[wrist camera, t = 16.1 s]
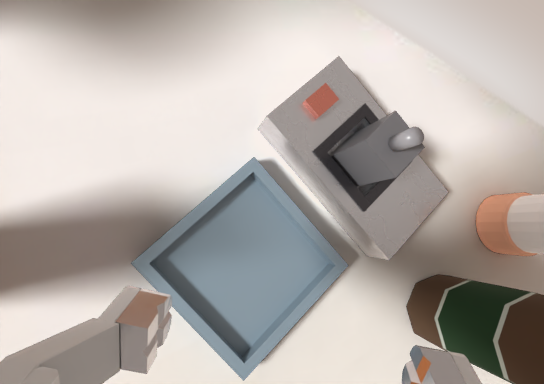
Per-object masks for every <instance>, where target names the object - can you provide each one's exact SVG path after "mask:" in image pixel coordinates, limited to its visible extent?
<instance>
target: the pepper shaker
mask: <svg viewBox="0 0 544 384" xmlns="http://www.w3.org/2000/svg"><path fill="white" fill-rule="evenodd" d="M476 228H477V232H478V235H479V237H480V240H481V241H482V243H483V244H484V245H485V246H486V247H487V248H488V249H489V250H491V251H492V252H496V253H499V254H509V255H520V256H532V255H536V254H544V194H537V195H532V194H529V193H526V192H524V193H513V194H502V195H492V196H490V197H488V198H486V199H485V200H484V201H483V202H482V203H481V204H480V206H479V209H478V211H477V215H476Z"/></svg>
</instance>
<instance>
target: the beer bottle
mask: <svg viewBox="0 0 544 384" xmlns="http://www.w3.org/2000/svg"><path fill="white" fill-rule="evenodd" d="M406 307H407V311H408V314H409V318H410V321H411V325H412V328H413V331H414V333H415V334H417V335H419V336H420V337H422V338H424V339H425V340H427V341H429V342H431V343H433V344H434V345H436V346H438V347H440V348H442V349H443V350H445V351H449V352H454V353H460V354H463V355H465V356H466V357H467V359H468V360H469V362H470V363H471V364H473V365H475V366H477V367H479V368H481V369H484V370H486V371H488V372H490V373H492V374H494V375H496V376H498V377H500V378H502V379H504V380H506V381H508V382H510V383H512V384H544V295H541V294H537V293H533V292H528V291H523V290H518V289H513V288H508V287H502V286H497V285H492V284H487V283H482V282H477V281H472V280H467V279H462V278H457V277H452V276H445V275H435V276H433V277H430V278H428V279H426V280H423V281H421V282H418V283H416V284H415V286H414V289H413V291H412V294H411V296H410V299H409V301H408V304H407V306H406Z"/></svg>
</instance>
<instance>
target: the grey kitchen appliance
mask: <svg viewBox="0 0 544 384" xmlns="http://www.w3.org/2000/svg"><path fill="white" fill-rule="evenodd" d="M385 116H387V115H386V114H385V113H384V111H383V110H382V109H381V108H380V106H379V105H378V104H377V103H376V101H375V100H374V99H373V98H372V96H371V95H370V94H369V93H368V91H367V90H366V89H365V88H364V86H363V85H362V84H361V83H360V81H359V80H358V79H357V78H356V76H355V75H354V74H353V73H352V72H351V70H350V69H349V68H348V67H347V65H346V64H345V63H344V62H343V60H342V59H341V58H340V57H339V56H338V57H337V58H336V59H335V60H334V61H332V62H331V63H330V64H329V65H328V66H326V67H325V68H324V69H323V70H322V71H320V72H319V73H318V74H317V75H316V76H314V77H313V78H312V79H311V80H310V81H308V82H307V83H306V84H305V85H303V86H302V87H301V88H300V89H299V90H297V91H296V92H295V93H294V94H293V95H291V96H290V97H289V98H288V99H287V100H285V101H284V102H283V103H282V104H281V105H279V106H278V107H277V108H276V109H275V110H273V111H272V112H271V113H270V114H269V115H267V116H266V118H265V119H264V121H263V122H262V123H261V125H260V126H259V128H258V130H259V131H260V132H261V133H262V135H263V136H264V137H265V138H266V139H267V140H268V142H269V143H270V144H271V145H272V146H273V147H274V149H275V150H276V151H277V152H278V153H279V154H280V156H281V157H282V158H283V159H284V160H285V161H286V163H287V164H288V165H289V166H290V167H291V168H292V169H293V171H294V172H295V173H296V174H297V175H298V176H299V178H300V179H301V180H302V181H303V182H304V183H305V185H306V186H307V187H308V188H309V189H310V190H311V192H312V193H313V194H314V195H315V196H316V197H317V199H318V200H319V201H320V202H321V203H322V204H323V206H324V207H325V208H326V209H327V210H328V211H329V213H330V214H331V215H332V216H333V217H334V218H335V220H336V221H337V222H338V223H339V224H340V225H341V226H342V228H343V229H344V230H345V231H346V232H347V233H348V235H349V236H350V237H351V238H352V239H353V240H354V242H355V243H356V244H357V245H358V246H359V247H360V249H361V250H362V251H363V252H364V253H365V254H366V256H369V257H374V258H380V259H386V260H390V259H391V258H392V257H393V256H394V255H395V253H396V252H397V251H398V250H399V249H400V248H401V246H402V245H403V244H404V243H405V242H406V241H407V240H408V238H409V237H410V236H411V235H412V234H413V233H414V231H415V230H416V229H417V228H418V227H419V226H420V225H421V223H422V222H423V221H424V220H425V219H426V218H427V217H428V215H429V214H430V213H431V212H432V211H433V210H434V208H435V207H436V206H437V205H438V204H439V203H440V202H441V200H442V199H443V198H444V197H445V196H446V195H447V193H448V191H447V190H446V188H445V187H444V186H443V185H442V183H441V182H440V181H439V180H438V178H437V177H436V176H435V175H434V173H433V172H432V171H431V170H430V168H429V167H428V166H427V165H426V163H425V162H424V161H423V160H422V158H421V157H420V156H419V155H417V156H416V157H415V158H414V159H413V160H412V161H411V162H410V163H409V164H408V166H407V167H406V168H405V169H404V170H403V171H402V172H401V173H400V174H399V175H398V176H397V177H396V178H392V179H388V180H383V181H379V182H375V183H370V184H366V185H361V186H357V187H356V186H355V185H354V183H353V182H352V181H351V180H350V179H349V177H348V176H347V175H346V174H345V173H344V172H343V170H342V169H341V168H340V167H339V166H338V164H337V163H336V162H335V161H334V160H333V158H332V157H331V156H330V154H331V153H332V152H333V151H334V150H335V149H336V148H337V147H338V146H339V145H340V144H341V143H343V142H344V141H345V140H346V139H347V138H348V137H349V136H351V135H352V134H354V133H356V132H358V131H360V130H362V129H363V128H365V127H367V126H369V125H371V124H372V123H374V122H376V121H378V120H380V119H381V118H383V117H385Z"/></svg>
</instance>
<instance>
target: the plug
mask: <svg viewBox="0 0 544 384" xmlns="http://www.w3.org/2000/svg"><path fill="white" fill-rule="evenodd" d="M423 140H424V134H423V132H422V130H421V129H420V128H418V127H412V128H409V127H408V125H407V124H406V123H405V122H404V120H403V119H402V118H401V117H400V115H399V114H398V113H397V112H396V111H394V112H392V113H391V114H389V115H387V116H385V117H383V118H381V119H380V120H378V121H376V122H374V123H372V124H371V125H369V126H367V127H365V128H363V129H362V130H360V131H358V132H356V133H354V134H352V135H351V136H349V137H348V138H347V139H346V140H345V141H344V142H343V143H341V144H340V145H339V146H338V147H337V148H336V149H335V150H334V151H333V152H332V153H331V154H330V156H331V157H332V158H333V160H334V161H335V162H336V163H337V164H338V166H339V167H340V168H341V169H342V170H343V172H344V173H345V174H346V175H347V176H348V177H349V179H350V180H351V181H352V182H353V183H354V185H355V186H356V187H357V186H361V185H366V184H370V183H375V182H379V181H383V180H388V179H392V178H396V177H397V176H398V175H399V174H400V173H401V172H402V171H403V170H404V169H405V168H406V167H407V166H408V164H409V163H410V162H411V161H412V160H413V159H414V158H415V157H416V156H417V155H418V154H419V153H420V152H421V151H422V150H423V149H424V148H425V147H424V145H423V144H422V142H423Z"/></svg>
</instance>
